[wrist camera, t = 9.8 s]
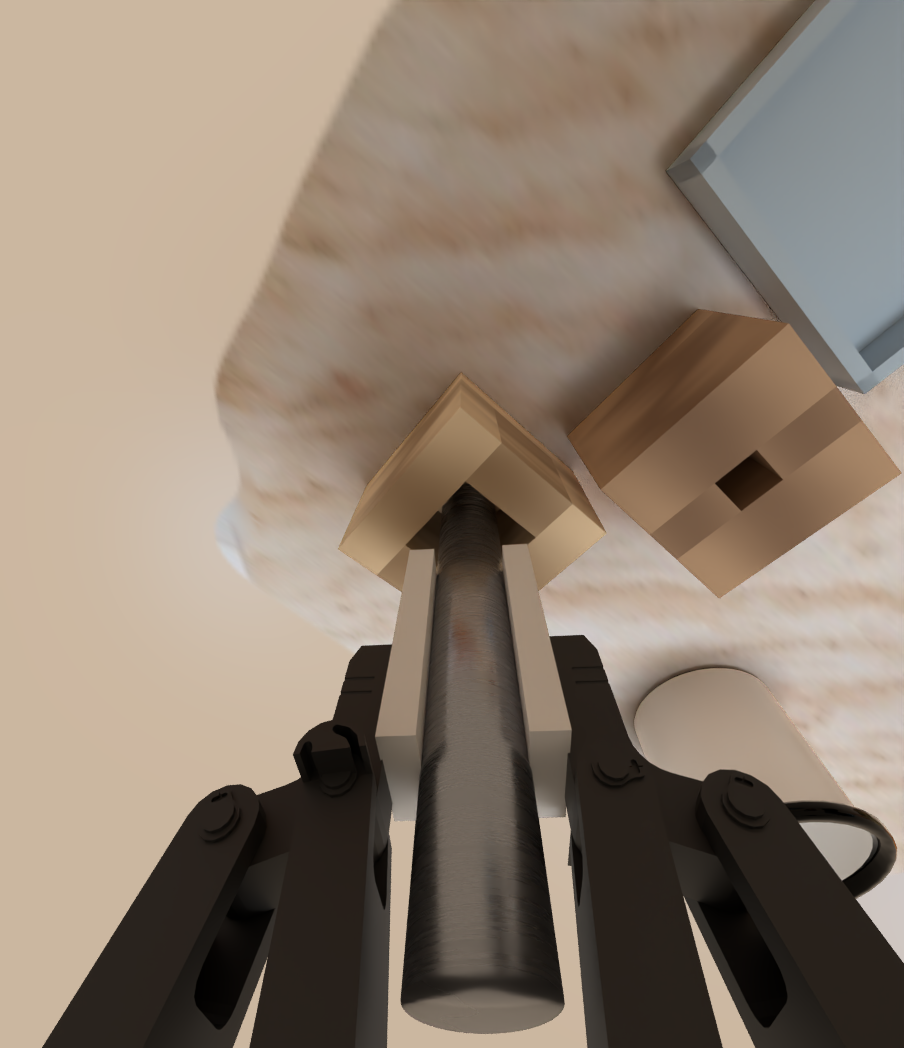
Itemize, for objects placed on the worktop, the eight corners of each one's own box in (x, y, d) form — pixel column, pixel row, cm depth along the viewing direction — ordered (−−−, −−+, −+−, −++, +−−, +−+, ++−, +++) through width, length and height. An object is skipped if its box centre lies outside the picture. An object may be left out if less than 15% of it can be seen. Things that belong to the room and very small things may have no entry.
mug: (594, 731, 31) (640, 892, 23) (692, 635, 27) (791, 790, 19) (732, 786, 33) (818, 948, 25) (842, 705, 29) (985, 869, 21)
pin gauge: (466, 473, 19) (476, 953, 6) (505, 506, 19) (599, 1004, 6) (431, 510, 20) (368, 1005, 6) (470, 540, 20) (486, 1045, 7)
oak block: (461, 371, 20) (460, 407, 15) (572, 470, 22) (606, 533, 17) (367, 484, 23) (337, 549, 17) (474, 563, 25) (477, 643, 19)
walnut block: (696, 309, 19) (788, 323, 13) (790, 421, 21) (901, 473, 15) (566, 435, 21) (600, 489, 16) (661, 524, 23) (719, 598, 18)
